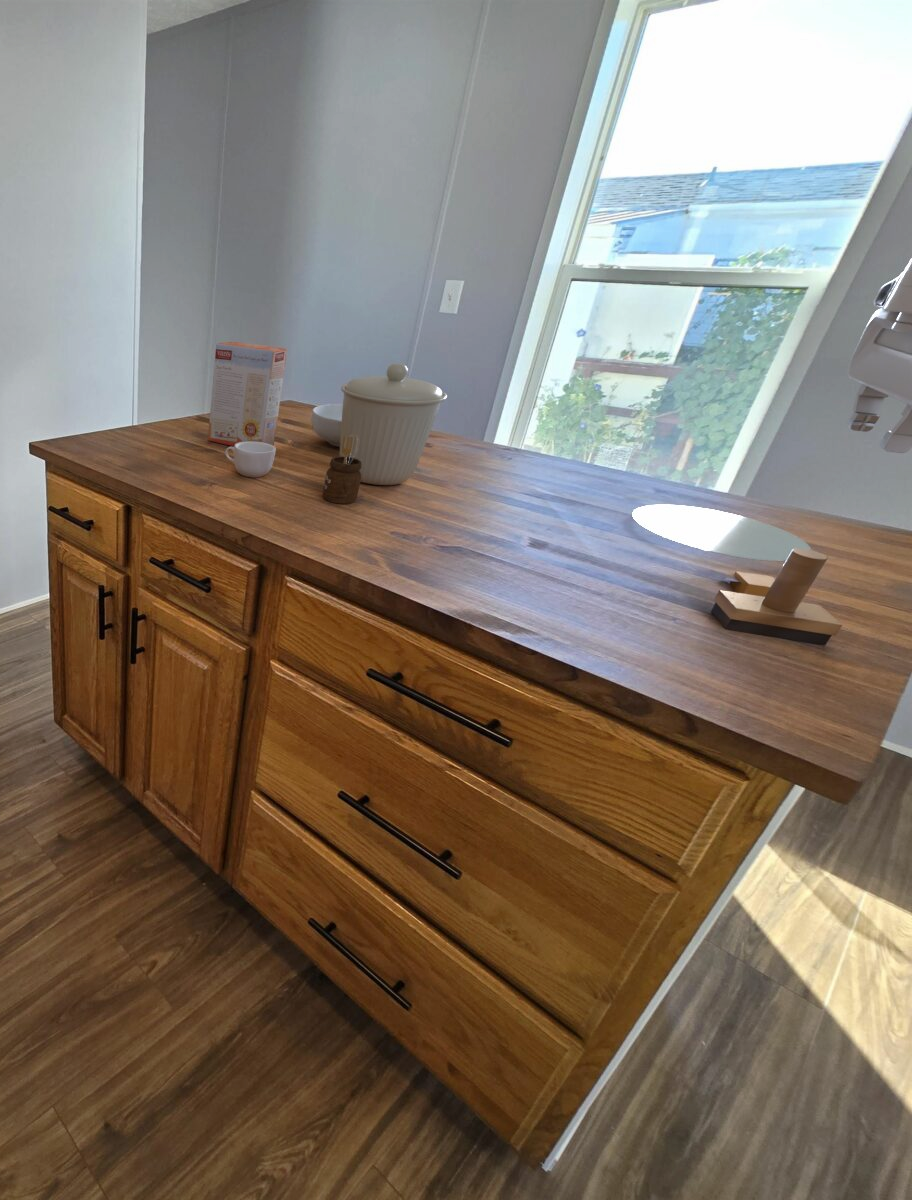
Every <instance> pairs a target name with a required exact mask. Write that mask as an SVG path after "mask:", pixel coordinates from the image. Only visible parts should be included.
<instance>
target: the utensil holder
mask: <svg viewBox="0 0 912 1200" xmlns="http://www.w3.org/2000/svg"><path fill="white" fill-rule="evenodd" d="M350 436H352V435H350ZM355 436H356V435H355ZM345 438H346V436H344V438H343V445H342V451H341V452H342V453H343V454H344V457H342V456H341V457H340V456H334V457H332V458H331V460H330V462H329V467H328V469H327V471H326V473H325V476H324V477H325V478H324V483H323V488H322V489H323V490H322V497H323V499H324V500H325V501H327V502H330V503H333V504H339V505H349V504H350V505H351V504H353V503H355V502H356V501H357V498H358V495H359V491H360V485H361V482H360V481H361V473H360V471H359V470H360V469H361V466H362V463H361V461H360V460H358V459H355V458H352V457H347V455H348V454H350V453H351V451H352V447H353V445H352V443H353V442H354V441H353V437H351V443H350V448H348V444H349V439H350V437H349V436H348V438H347V439H346V440H347V444H346V448H344V447H345V446H344V445H345V443H346V442H345ZM356 438H358V436H357V437H356ZM359 442H360V440H359ZM356 445H358V444H357V443H356ZM358 448H359V447H358ZM355 449H356V448H355ZM356 450H357V449H356ZM354 453H356V452H354ZM356 454H357V453H356ZM350 455H351V454H350ZM354 455H355V454H354ZM355 456H356V455H355ZM353 457H354V456H353Z"/></svg>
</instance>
